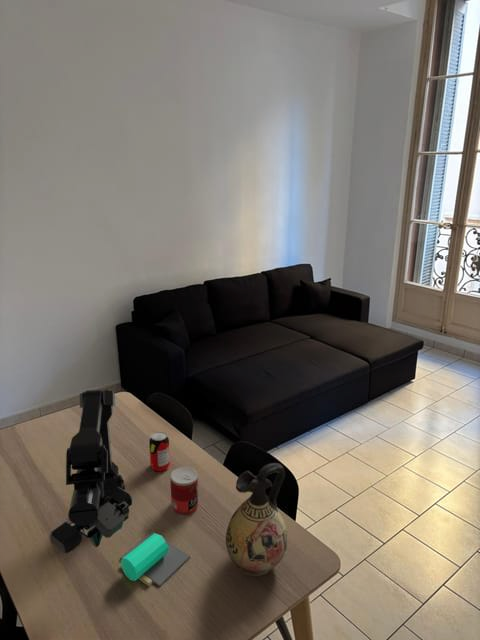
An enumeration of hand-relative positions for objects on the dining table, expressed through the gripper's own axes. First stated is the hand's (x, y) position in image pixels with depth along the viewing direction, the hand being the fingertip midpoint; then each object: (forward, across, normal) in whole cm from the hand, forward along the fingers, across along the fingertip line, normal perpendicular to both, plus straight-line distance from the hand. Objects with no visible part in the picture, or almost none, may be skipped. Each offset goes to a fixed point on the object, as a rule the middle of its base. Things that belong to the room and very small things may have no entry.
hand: (96, 545), depth 111 cm
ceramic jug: (+13, +28, -27) cm, 41 cm away
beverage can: (+14, +42, +21) cm, 49 cm away
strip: (+12, +7, -5) cm, 15 cm away
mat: (+12, +14, -5) cm, 19 cm away
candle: (+9, +5, -5) cm, 11 cm away
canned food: (+13, +33, +2) cm, 35 cm away
